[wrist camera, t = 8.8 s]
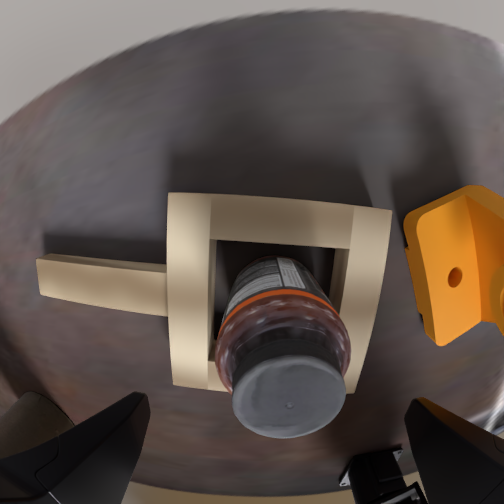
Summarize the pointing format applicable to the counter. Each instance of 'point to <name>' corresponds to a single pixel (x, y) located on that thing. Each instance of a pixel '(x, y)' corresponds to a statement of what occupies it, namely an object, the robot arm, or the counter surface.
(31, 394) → the pillar candle
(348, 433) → the counter surface
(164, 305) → the wooden frame with handle
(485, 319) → the bracket
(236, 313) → the supplement bottle
